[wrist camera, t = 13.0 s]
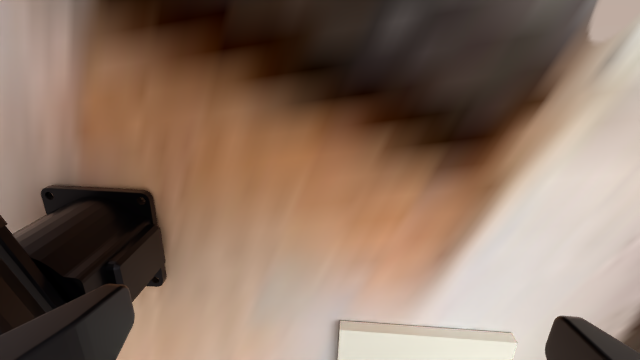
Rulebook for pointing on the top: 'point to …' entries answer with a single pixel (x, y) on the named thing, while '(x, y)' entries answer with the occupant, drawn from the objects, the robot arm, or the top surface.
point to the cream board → (421, 343)
